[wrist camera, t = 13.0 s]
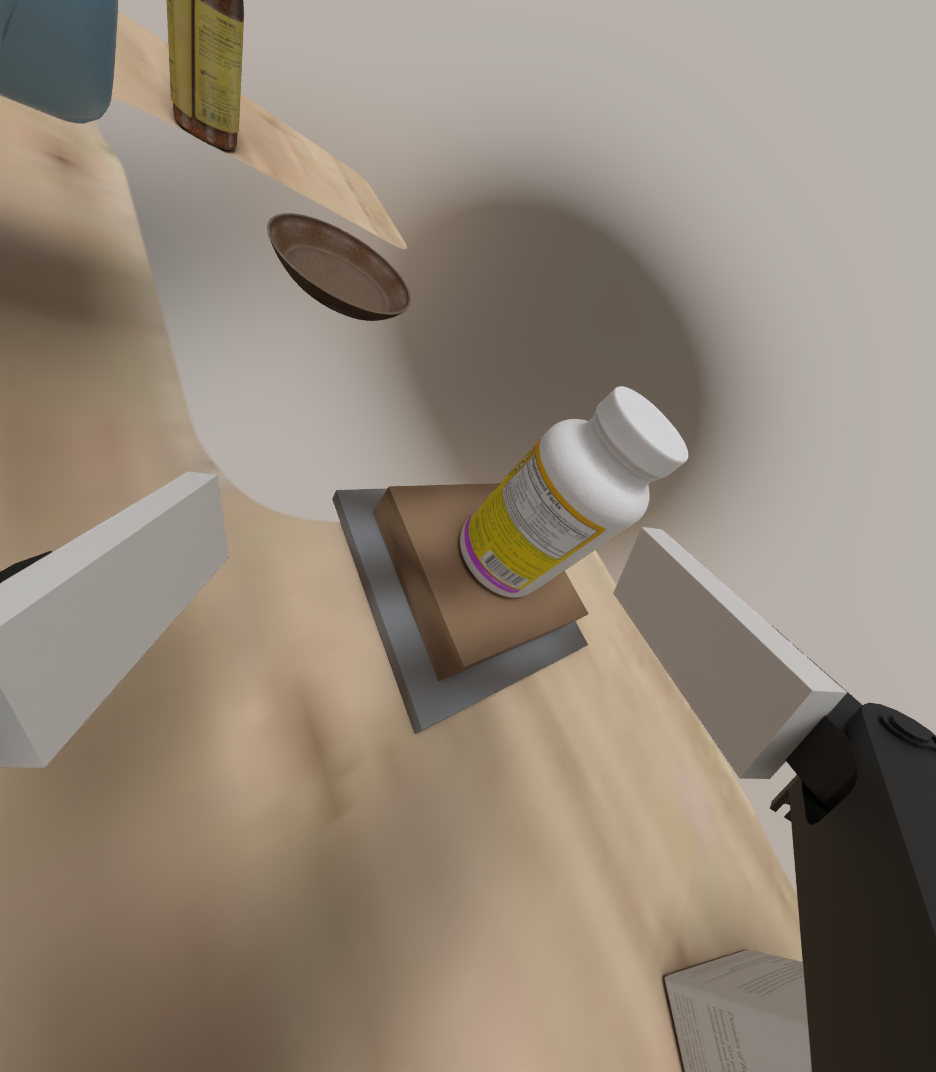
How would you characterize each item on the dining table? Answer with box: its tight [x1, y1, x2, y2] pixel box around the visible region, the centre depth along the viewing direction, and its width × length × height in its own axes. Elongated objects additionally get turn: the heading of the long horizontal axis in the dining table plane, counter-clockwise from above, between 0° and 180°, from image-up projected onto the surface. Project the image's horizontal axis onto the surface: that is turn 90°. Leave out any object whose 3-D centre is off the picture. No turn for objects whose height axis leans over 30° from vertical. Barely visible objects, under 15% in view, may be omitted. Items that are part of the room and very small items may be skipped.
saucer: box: [267, 213, 411, 321], centre depth 41 cm, size 15×15×3 cm
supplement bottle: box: [460, 387, 688, 597], centre depth 22 cm, size 7×7×13 cm
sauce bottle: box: [167, 0, 244, 150], centre depth 37 cm, size 6×6×20 cm
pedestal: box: [333, 483, 588, 733], centre depth 28 cm, size 16×16×4 cm
